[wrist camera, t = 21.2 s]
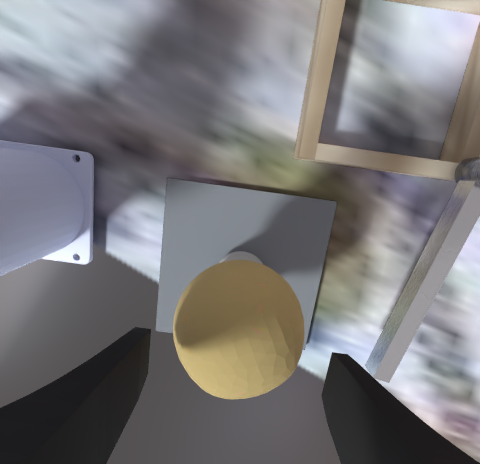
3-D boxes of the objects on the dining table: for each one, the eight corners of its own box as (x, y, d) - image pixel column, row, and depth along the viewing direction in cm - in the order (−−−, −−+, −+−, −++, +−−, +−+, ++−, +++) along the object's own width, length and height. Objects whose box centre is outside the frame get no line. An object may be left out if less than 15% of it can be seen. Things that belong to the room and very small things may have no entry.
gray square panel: (157, 327, 22) (155, 330, 21) (168, 177, 19) (166, 178, 19) (303, 345, 22) (304, 349, 22) (334, 201, 19) (337, 201, 19)
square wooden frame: (293, 158, 19) (298, 157, 17) (326, -29, 16) (337, -56, 14) (447, 180, 19) (470, 181, 17) (503, -1, 17) (538, -24, 15)
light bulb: (269, 219, 19) (295, 271, 10) (293, 297, 21) (337, 412, 11) (185, 245, 20) (129, 320, 10) (214, 320, 21) (189, 449, 11)
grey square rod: (382, 368, 20) (395, 387, 18) (359, 361, 20) (370, 380, 18) (489, 163, 17) (519, 162, 15) (463, 153, 16) (489, 151, 15)
